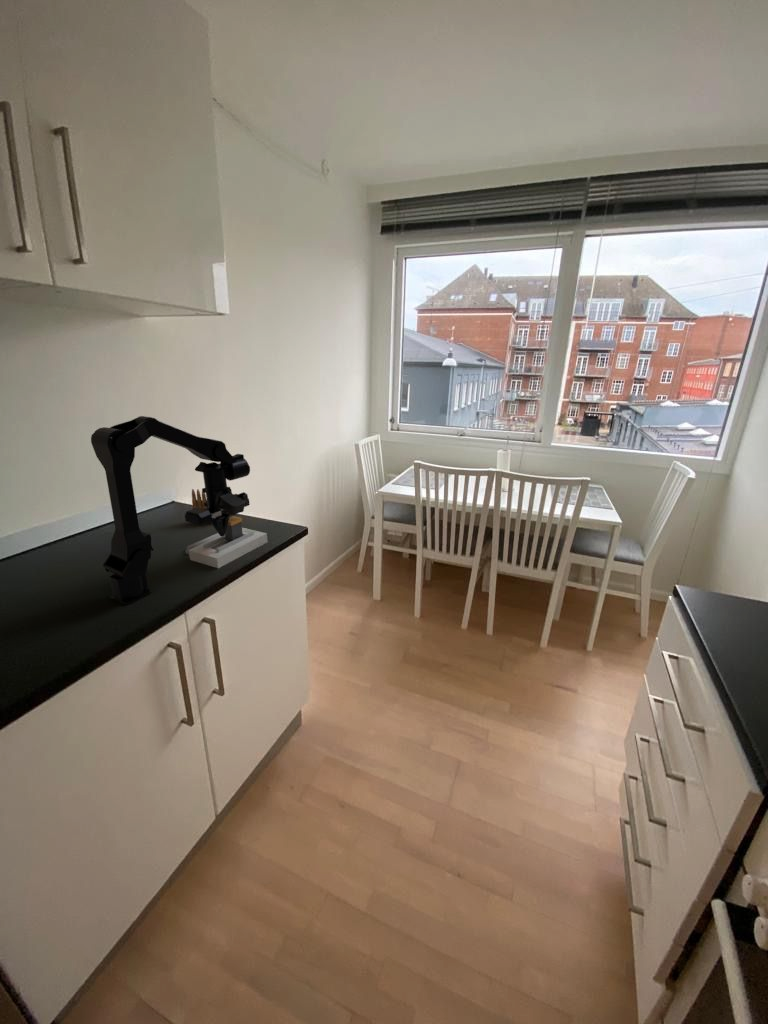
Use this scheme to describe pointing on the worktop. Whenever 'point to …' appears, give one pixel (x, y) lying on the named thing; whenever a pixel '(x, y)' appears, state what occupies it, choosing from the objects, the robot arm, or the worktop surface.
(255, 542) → the breaker panel
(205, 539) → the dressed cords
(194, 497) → the ammunition clip
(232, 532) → the breaker lever
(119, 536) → the robot arm
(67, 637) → the worktop surface
